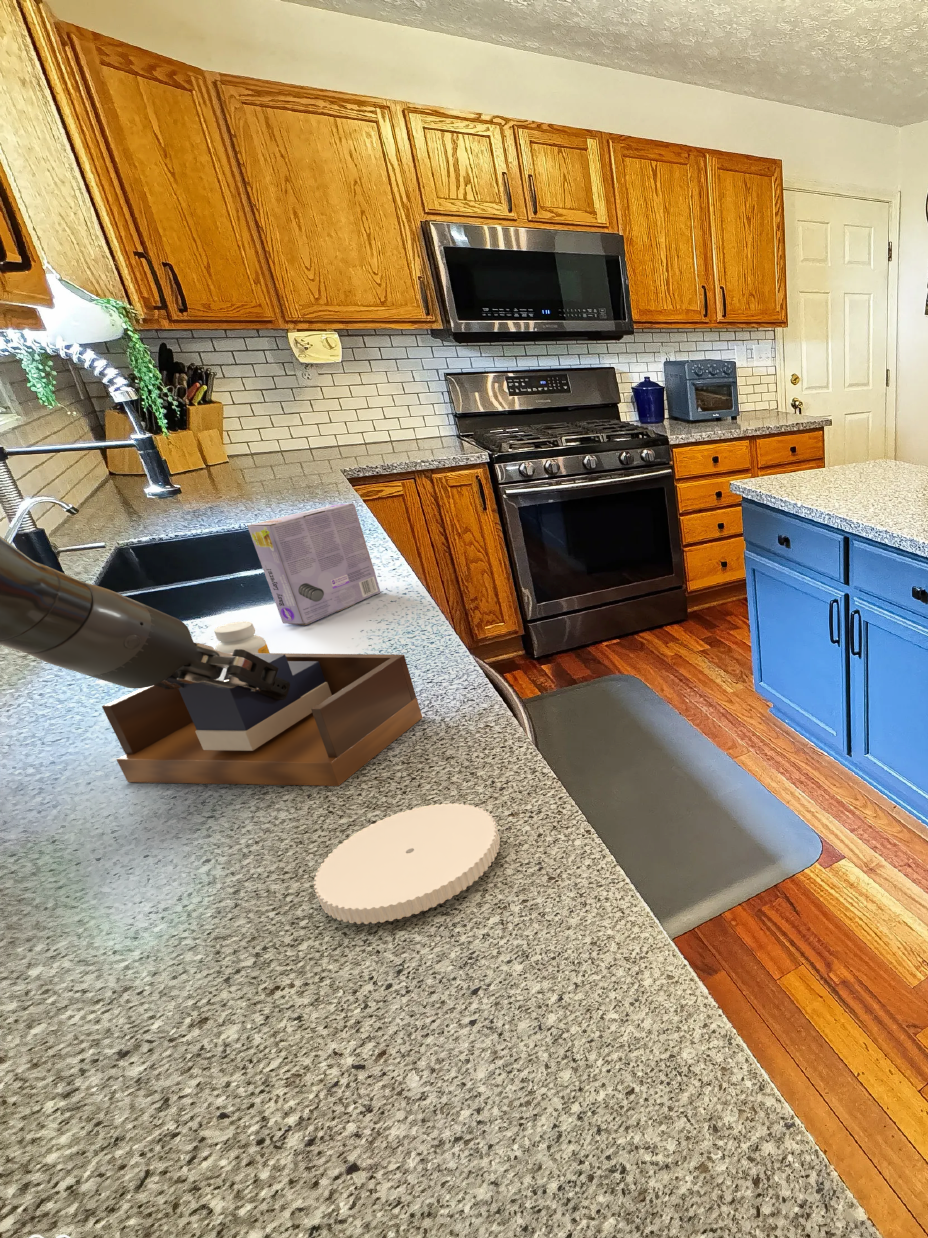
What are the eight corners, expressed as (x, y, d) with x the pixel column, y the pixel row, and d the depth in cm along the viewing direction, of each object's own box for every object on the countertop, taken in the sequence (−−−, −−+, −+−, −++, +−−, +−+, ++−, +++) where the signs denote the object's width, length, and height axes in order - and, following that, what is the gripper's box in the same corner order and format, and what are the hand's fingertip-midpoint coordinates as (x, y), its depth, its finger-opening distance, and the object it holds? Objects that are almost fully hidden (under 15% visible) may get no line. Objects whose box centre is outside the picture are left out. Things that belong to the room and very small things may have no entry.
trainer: (252, 750, 75) (225, 684, 72) (203, 750, 75) (174, 684, 72) (333, 699, 86) (313, 639, 83) (289, 698, 86) (267, 639, 83)
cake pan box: (363, 590, 136) (336, 500, 129) (387, 590, 136) (361, 500, 129) (279, 626, 119) (242, 524, 112) (306, 627, 118) (271, 525, 111)
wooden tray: (127, 782, 76) (91, 710, 73) (242, 715, 90) (217, 652, 87) (338, 786, 76) (312, 713, 72) (422, 717, 89) (404, 654, 86)
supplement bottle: (248, 702, 94) (221, 636, 90) (223, 695, 95) (196, 631, 92) (290, 685, 98) (267, 622, 94) (266, 679, 100) (242, 617, 96)
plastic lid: (512, 890, 61) (506, 867, 60) (317, 959, 54) (306, 935, 53) (492, 807, 72) (487, 787, 71) (328, 857, 65) (319, 835, 64)
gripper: (196, 598, 65) (330, 661, 80) (48, 597, 65) (210, 660, 81) (165, 674, 62) (309, 724, 77) (11, 673, 62) (185, 723, 78)
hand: (258, 691), depth 79 cm, fingers closed on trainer, 5 cm apart
